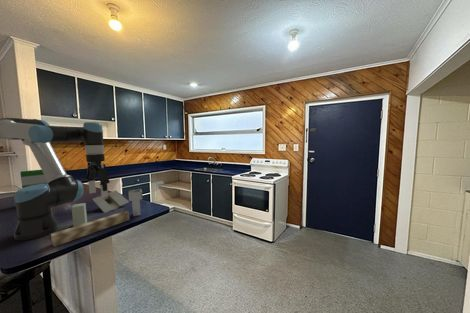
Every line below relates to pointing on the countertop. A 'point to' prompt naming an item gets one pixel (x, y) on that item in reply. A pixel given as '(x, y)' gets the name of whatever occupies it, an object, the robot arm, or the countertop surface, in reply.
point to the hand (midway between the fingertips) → (98, 195)
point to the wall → (110, 201)
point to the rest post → (79, 214)
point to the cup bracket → (135, 200)
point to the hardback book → (32, 178)
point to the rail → (88, 228)
